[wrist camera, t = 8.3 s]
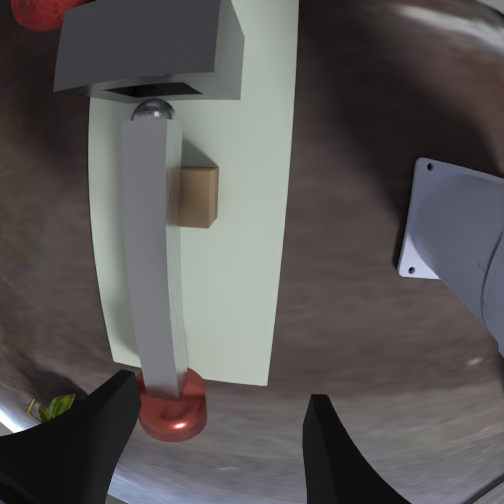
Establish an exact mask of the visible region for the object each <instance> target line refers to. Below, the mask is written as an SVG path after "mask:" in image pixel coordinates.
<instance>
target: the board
mask: <svg viewBox="0 0 504 504" xmlns="http://www.w3.org/2000/svg"><path fill="white" fill-rule="evenodd" d="M231 1H232V4H233V7H234V9H235V12H236V15H237V17H238V20H239V23H240V26H241V28H242V31H243V34H244V37H245V41H244V55H243V69H242V84H241V99H240V100H175V101H166V102H168V103H169V104H170V105H171V106H172V107H173V108H174V110H175V112H176V116H177V121H182V122H183V126H182V150H181V166H197V167H219V185H218V213H217V219H216V220H215V221H214V222H213V224H212V225H211V226H210V227H209V229H205V228H191V227H180V230H181V276H182V301H183V320H184V336H185V350H186V363H187V367H188V368H190V369H192V370H194V371H195V372H197V373H198V374H199V375H200V376H201V377H202V379H209V380H216V381H224V382H232V383H241V384H251V385H262V386H267V379H268V372H269V364H270V355H271V347H272V339H273V330H274V322H275V313H276V304H277V295H278V285H279V276H280V266H281V256H282V246H283V235H284V224H285V213H286V202H287V190H288V178H289V165H290V152H291V139H292V124H293V109H294V93H295V75H296V56H297V34H298V8H299V0H231ZM139 104H141V103H131V104H127V103H122V102H116V101H110V100H105V99H98V98H92V97H90V112H89V142H88V166H89V196H90V213H91V226H92V236H93V246H94V255H95V263H96V270H97V277H98V284H99V290H100V296H101V302H102V308H103V313H104V318H105V324H106V328H107V333H108V338H109V342H110V347H111V351H112V355H113V359H114V362H118V363H123V364H127V365H131V366H136V367H141V363H140V358H139V353H138V347H137V341H136V335H135V329H134V323H133V316H132V309H131V301H130V294H129V285H128V276H127V267H126V256H125V244H124V229H123V210H122V173H121V155H122V122H123V121H131V116H132V114H133V112H134V110H135V108H136V107H137V106H138V105H139Z"/></svg>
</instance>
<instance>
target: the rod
mask: <svg viewBox="0 0 504 504" xmlns="http://www.w3.org/2000/svg"><path fill="white" fill-rule="evenodd" d="M182 126H183V122H182V121H177V116H176V112H175V110H174V108H173V107H172V106H171V105H170V104H169V103H168V102H166V101H164V100H162V99H149V100H146V101H144V102H142V103H141V104H139V105H138V106H137V107H136V108H135V110H134V112H133V114H132V116H131V121H123V122H122V155H121V173H122V210H123V229H124V244H125V256H126V267H127V276H128V285H129V294H130V301H131V309H132V316H133V323H134V329H135V335H136V341H137V347H138V353H139V358H140V363H141V368H142V372H141V373H140V374H139V375H138V376H137V377H136V381H137V386H138V390H139V394H140V398H141V402H142V406H141V409H140V413H139V416H138V418H139V421H140V424H141V426H142V428H143V429H144V430H145V431H146V432H147V433H148V434H149V435H150V436H152V437H154V438H156V439H158V440H161V441H166V442H180V441H185V440H188V439H191V438H193V437H194V436H196V435H197V434H199V433H200V432H201V431H202V429H203V428H204V426H205V424H206V422H207V405H206V387H205V383H204V380H203V379H202V377H201V376H200V375H199V374H198V373H197V372H195V371H194V370H192V369H190V368H188V367H187V363H186V350H185V336H184V320H183V301H182V276H181V230H180V196H181V150H182Z"/></svg>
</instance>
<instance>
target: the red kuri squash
mask: <svg viewBox="0 0 504 504" xmlns="http://www.w3.org/2000/svg"><path fill="white" fill-rule="evenodd" d="M87 2H88V0H11V9H12V12H13V15H14V18H15V20H16V21H17V22H18V23H19V24H21V25H23V26H25V27H27V28H28V29H30V30H32V31H36V32H45V31H50V30H55V29H58V28H61V27H62V25H63V20H64V16H65V11H66V10H69V9H72V8H75V7H78V6H81V5H84V4H86V3H87Z"/></svg>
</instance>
